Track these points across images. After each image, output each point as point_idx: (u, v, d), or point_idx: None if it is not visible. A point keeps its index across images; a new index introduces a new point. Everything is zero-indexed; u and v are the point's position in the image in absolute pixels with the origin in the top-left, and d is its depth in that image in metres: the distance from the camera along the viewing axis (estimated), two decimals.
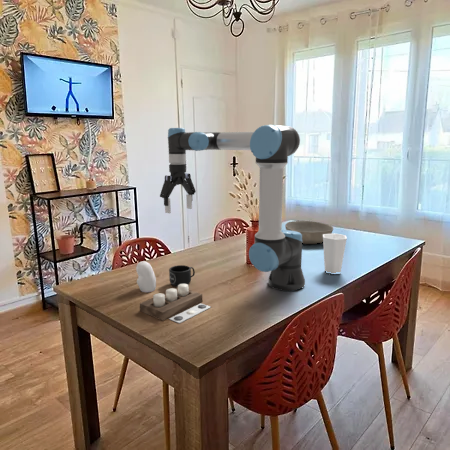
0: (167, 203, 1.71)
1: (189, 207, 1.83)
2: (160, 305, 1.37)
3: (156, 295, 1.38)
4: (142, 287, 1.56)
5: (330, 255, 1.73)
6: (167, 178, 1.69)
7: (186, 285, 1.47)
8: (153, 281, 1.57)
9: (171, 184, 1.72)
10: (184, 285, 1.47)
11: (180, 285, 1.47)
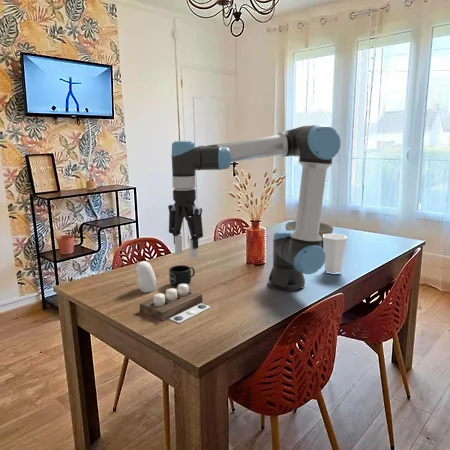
0: (175, 241, 1.35)
1: None
2: (160, 305, 1.37)
3: (156, 295, 1.38)
4: (142, 287, 1.56)
5: (330, 255, 1.73)
6: None
7: (186, 285, 1.47)
8: (153, 281, 1.57)
9: None
10: (184, 285, 1.47)
11: (180, 285, 1.47)
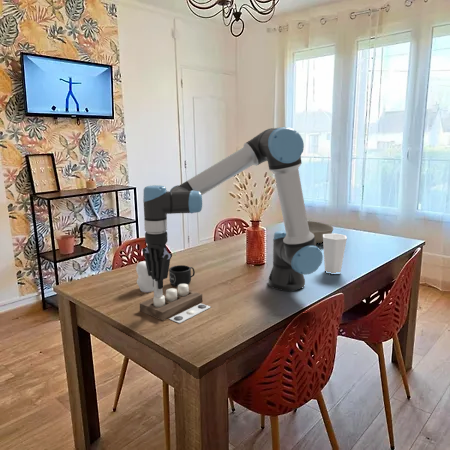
0: (154, 284, 1.37)
1: None
2: None
3: None
4: (142, 287, 1.56)
5: (330, 255, 1.73)
6: None
7: (186, 285, 1.47)
8: None
9: None
10: (184, 285, 1.47)
11: (180, 285, 1.47)
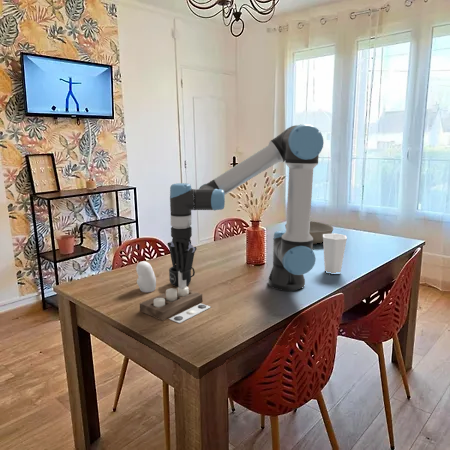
0: None
1: None
2: None
3: (156, 299, 1.38)
4: (142, 287, 1.56)
5: (330, 255, 1.73)
6: None
7: (186, 287, 1.47)
8: (153, 281, 1.57)
9: None
10: None
11: None
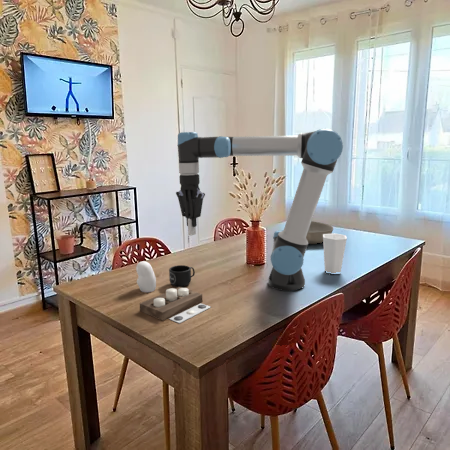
0: (188, 223, 1.52)
1: None
2: None
3: (156, 299, 1.38)
4: (142, 287, 1.56)
5: (330, 255, 1.73)
6: None
7: (186, 289, 1.47)
8: (153, 281, 1.57)
9: None
10: (184, 289, 1.47)
11: (180, 289, 1.47)
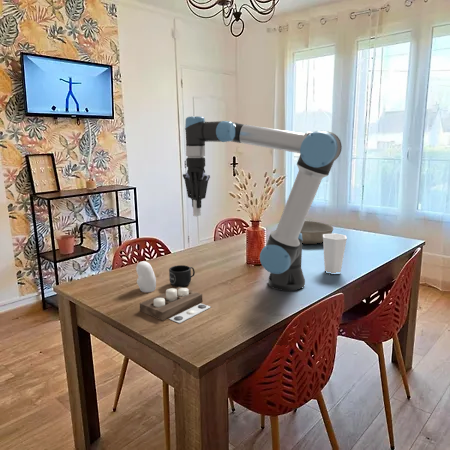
0: None
1: None
2: None
3: (156, 299, 1.38)
4: (142, 287, 1.56)
5: (330, 255, 1.73)
6: None
7: (186, 289, 1.47)
8: (153, 281, 1.57)
9: None
10: (184, 289, 1.47)
11: (180, 289, 1.47)
